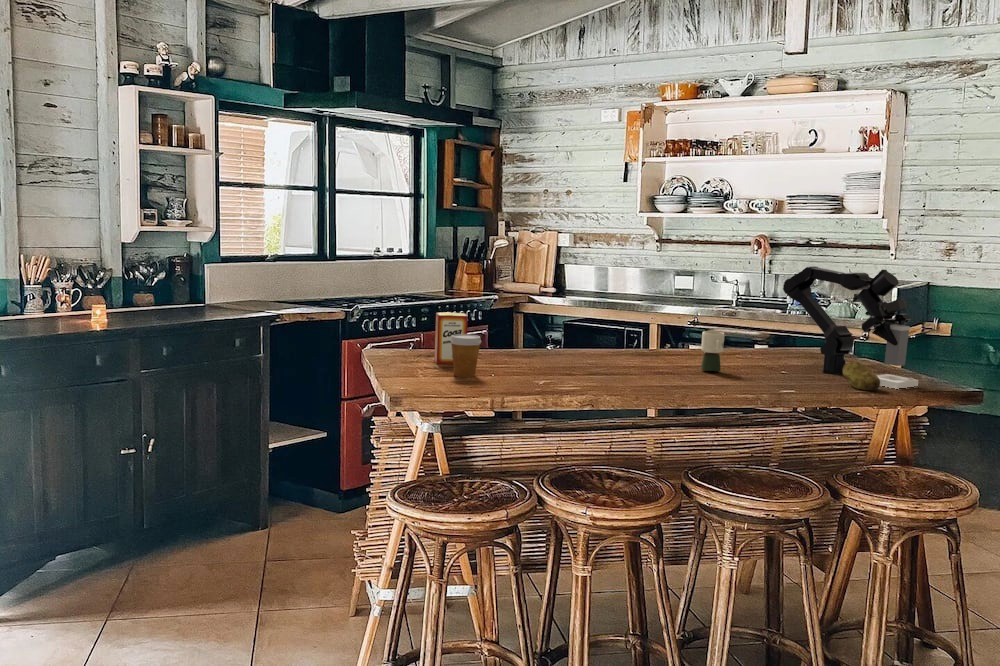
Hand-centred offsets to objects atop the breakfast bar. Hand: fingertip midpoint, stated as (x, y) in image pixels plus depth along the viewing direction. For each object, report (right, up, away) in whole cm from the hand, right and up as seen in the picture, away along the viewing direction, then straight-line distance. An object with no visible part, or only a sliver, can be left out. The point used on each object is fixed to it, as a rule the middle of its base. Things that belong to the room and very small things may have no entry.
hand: (900, 344), depth 310 cm
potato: (-15, -14, -4) cm, 21 cm away
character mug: (-57, -9, +13) cm, 59 cm away
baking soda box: (-142, -6, +10) cm, 143 cm away
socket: (-2, -13, +3) cm, 13 cm away
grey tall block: (-1, -6, +2) cm, 7 cm away
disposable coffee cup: (-137, -9, -12) cm, 138 cm away
